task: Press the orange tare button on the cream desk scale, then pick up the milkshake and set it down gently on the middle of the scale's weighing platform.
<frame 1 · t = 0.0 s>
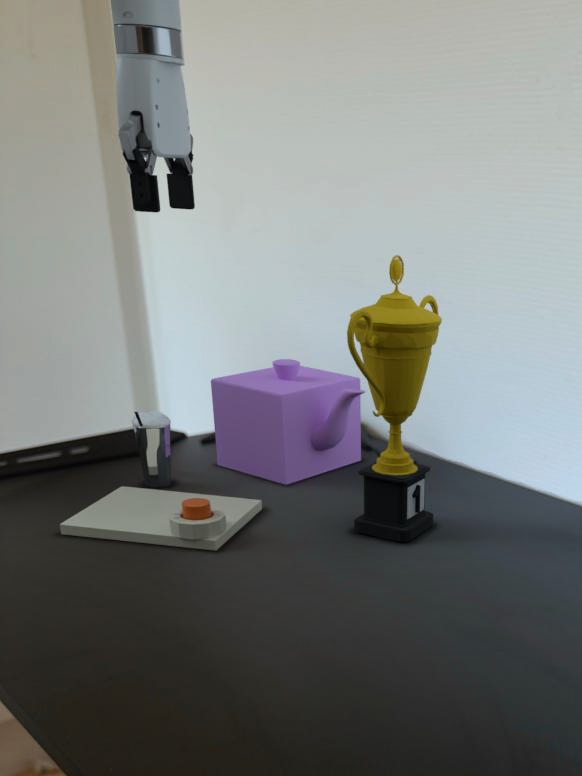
hand: (165, 210, 115), 32 cm above the table, tool pointing down, fingers open, 9 cm apart
teapot: (296, 465, 130), on the table
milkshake: (156, 486, 119), on the table
scale: (166, 521, 108), on the table
tare button: (196, 509, 101), point 4 cm above the table, slide at 0.2 cm
trophy: (394, 530, 109), on the table
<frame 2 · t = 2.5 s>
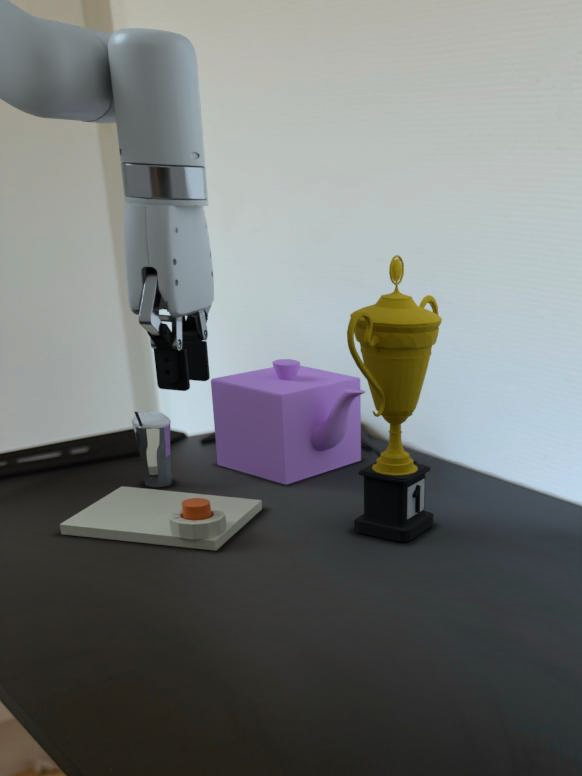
hand: (184, 382, 95), 17 cm above the table, tool pointing down, fingers open, 4 cm apart
nothing on the table moved.
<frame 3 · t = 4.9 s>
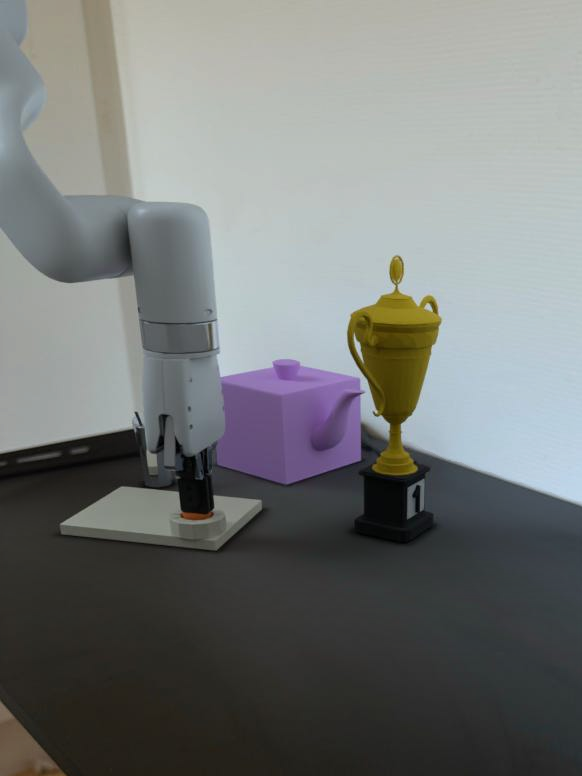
hand: (197, 510, 101), 3 cm above the table, tool pointing down, fingers closed
tare button: (197, 518, 102), point 3 cm above the table, slide at -0.8 cm, touching gripper
everything else where it was.
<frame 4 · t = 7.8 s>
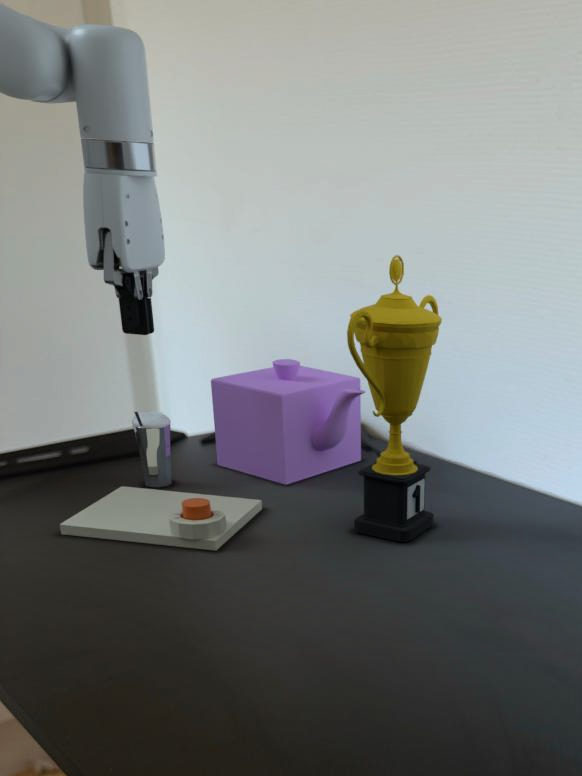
hand: (138, 332, 110), 19 cm above the table, tool pointing down, fingers closed
tare button: (196, 509, 101), point 4 cm above the table, slide at 0.2 cm
everything else where it was.
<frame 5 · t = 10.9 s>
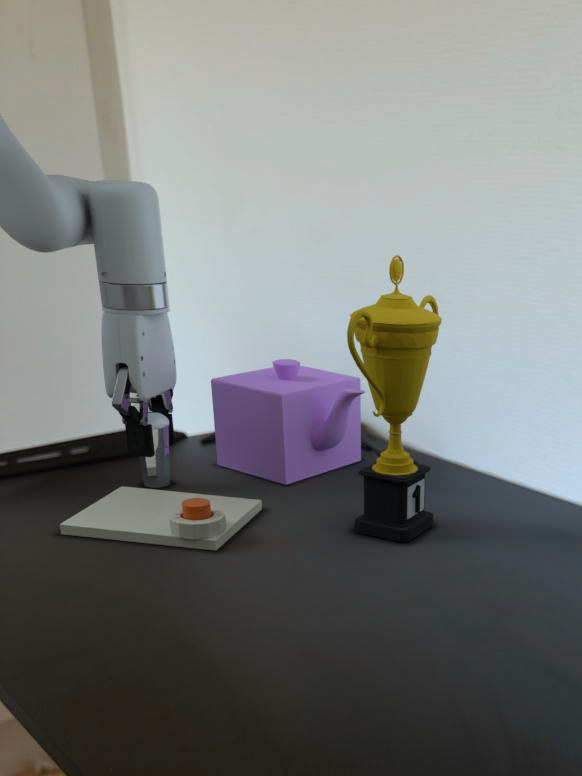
hand: (152, 448, 117), 5 cm above the table, tool pointing down, fingers closed on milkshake, 4 cm apart
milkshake: (155, 486, 119), on the table, touching gripper
everything else where it was.
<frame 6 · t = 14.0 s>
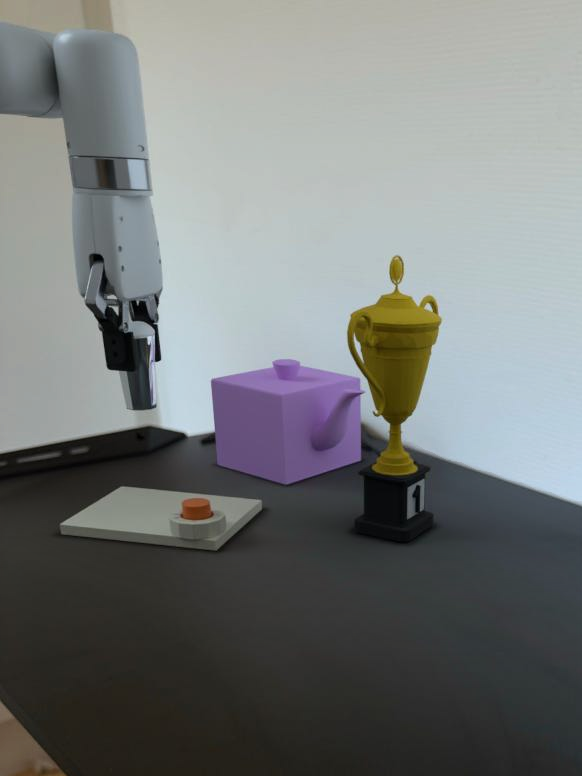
hand: (134, 363, 100), 18 cm above the table, tool pointing down, fingers closed on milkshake, 4 cm apart
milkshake: (139, 410, 102), point 13 cm above the table, touching gripper
everything else where it was.
when the fingers open (6 cm above the table, at t = 17.0 s): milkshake stays where it is, resting on scale.
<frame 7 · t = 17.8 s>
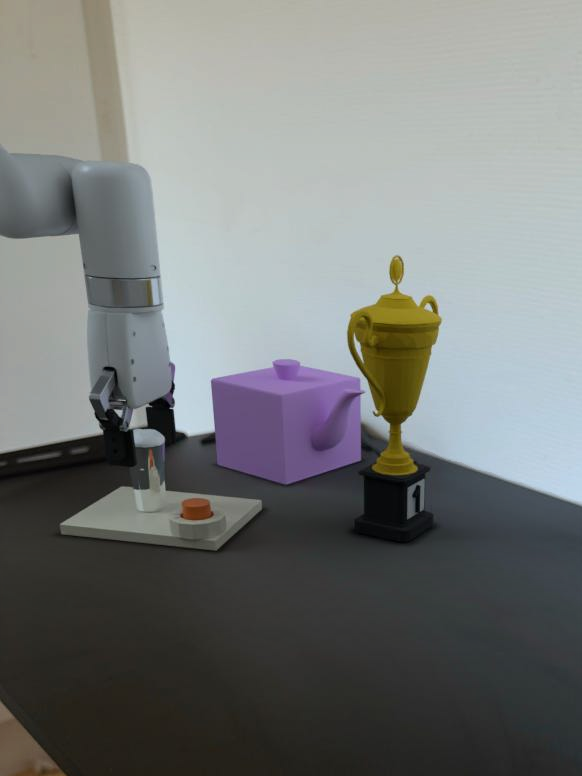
hand: (143, 453, 105), 8 cm above the table, tool pointing down, fingers open, 9 cm apart
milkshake: (149, 510, 108), point 1 cm above the table, touching scale
everything else where it was.
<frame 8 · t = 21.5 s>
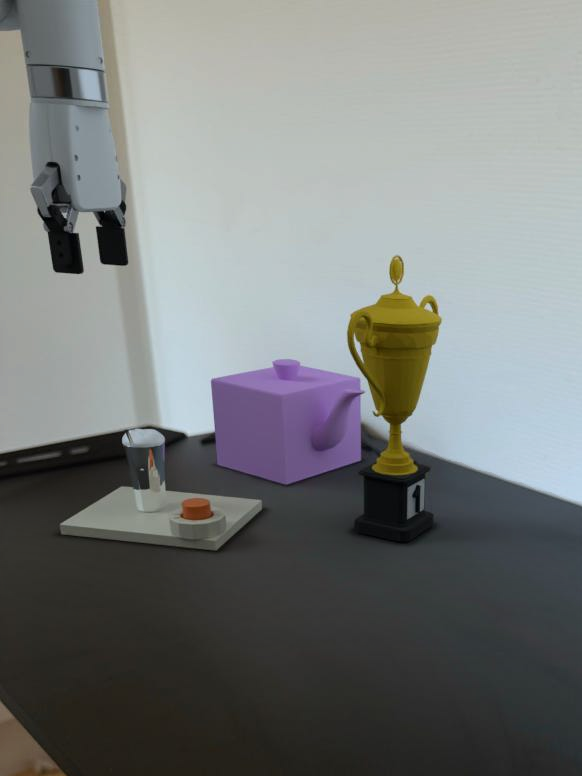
hand: (92, 268, 103), 26 cm above the table, tool pointing down, fingers open, 9 cm apart
nothing on the table moved.
at the end: tare button pushed in 1.1 cm at the most during the clip, back to 0.2 cm at the end; tare button slide at 0.2 cm; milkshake inside the target area on the scale (2.1 cm from its centre), point 1.0 cm above the scale's base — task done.
